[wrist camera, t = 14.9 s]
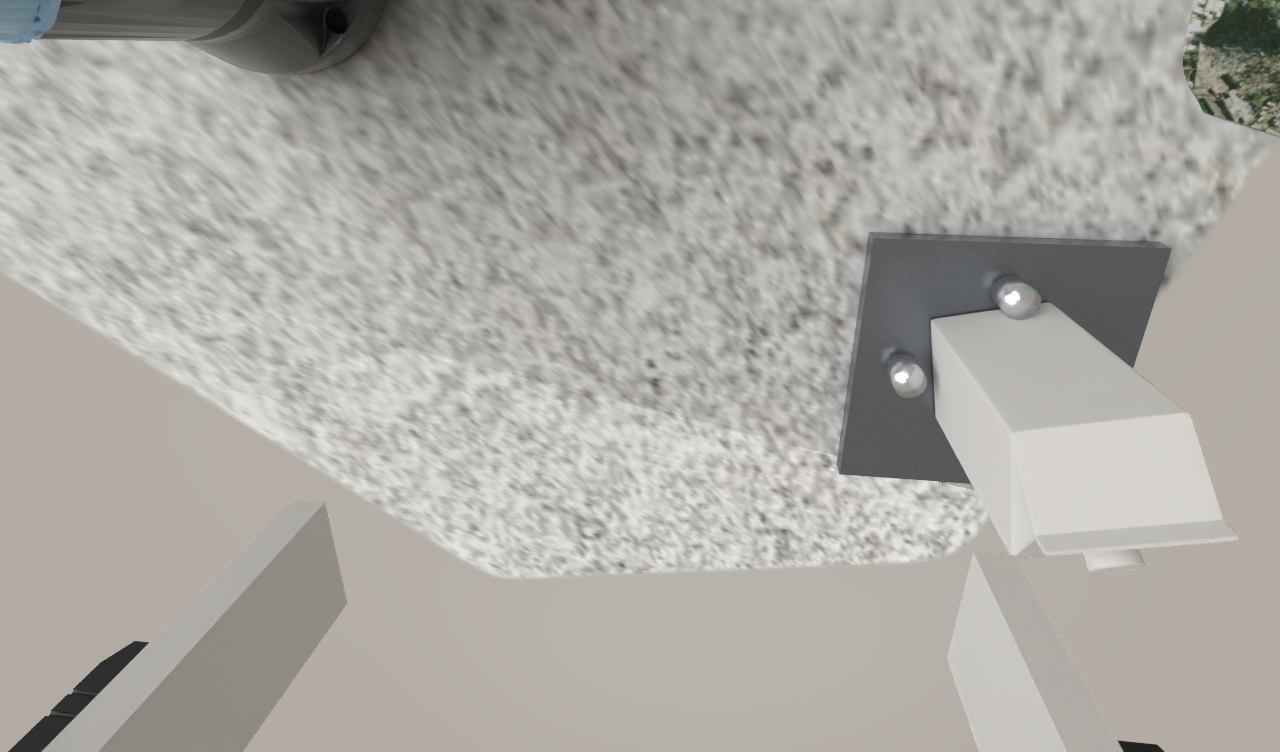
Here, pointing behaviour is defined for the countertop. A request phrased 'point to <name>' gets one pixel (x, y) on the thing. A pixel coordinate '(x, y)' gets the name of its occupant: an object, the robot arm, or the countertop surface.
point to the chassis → (963, 284)
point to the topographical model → (1236, 60)
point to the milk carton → (1069, 441)
